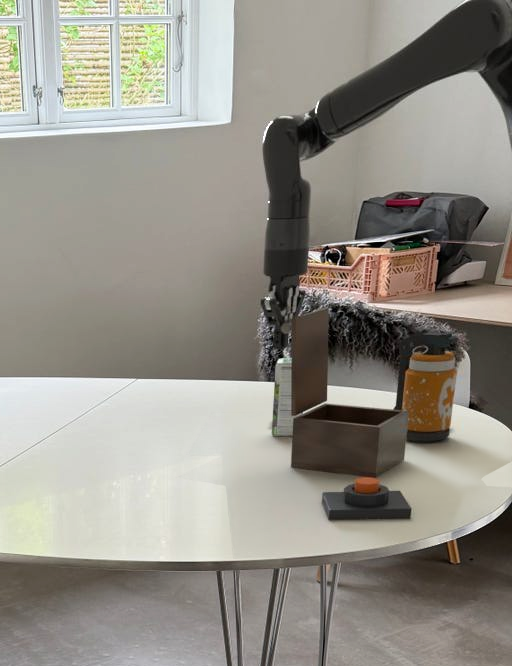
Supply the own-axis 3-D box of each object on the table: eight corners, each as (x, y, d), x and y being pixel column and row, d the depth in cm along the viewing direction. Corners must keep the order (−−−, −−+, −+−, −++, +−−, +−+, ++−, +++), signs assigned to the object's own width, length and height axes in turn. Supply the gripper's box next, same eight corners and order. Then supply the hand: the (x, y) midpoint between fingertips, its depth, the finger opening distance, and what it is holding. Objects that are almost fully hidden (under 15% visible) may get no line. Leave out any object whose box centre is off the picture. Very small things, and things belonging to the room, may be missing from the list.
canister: (434, 446, 178) (447, 336, 169) (380, 438, 185) (389, 332, 177) (457, 436, 183) (470, 328, 174) (403, 428, 191) (413, 325, 182)
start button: (376, 487, 149) (377, 476, 148) (380, 494, 146) (381, 483, 145) (352, 488, 150) (353, 477, 149) (355, 495, 147) (356, 484, 146)
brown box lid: (328, 307, 170) (303, 308, 173) (295, 318, 162) (270, 318, 165) (327, 400, 177) (303, 400, 180) (295, 415, 168) (270, 414, 171)
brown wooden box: (404, 460, 172) (409, 410, 168) (375, 478, 163) (380, 427, 159) (321, 449, 181) (325, 403, 177) (290, 467, 173) (293, 418, 169)
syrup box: (273, 429, 197) (276, 357, 191) (303, 429, 196) (307, 357, 189) (271, 436, 193) (274, 363, 186) (301, 436, 191) (305, 362, 184)
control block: (399, 500, 152) (401, 479, 151) (410, 519, 144) (412, 497, 143) (321, 502, 154) (323, 481, 153) (328, 520, 146) (330, 498, 145)
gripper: (288, 249, 158) (282, 356, 166) (323, 242, 166) (316, 343, 174) (248, 249, 162) (244, 353, 170) (284, 242, 171) (279, 341, 179)
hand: (280, 348), depth 172 cm, fingers closed
